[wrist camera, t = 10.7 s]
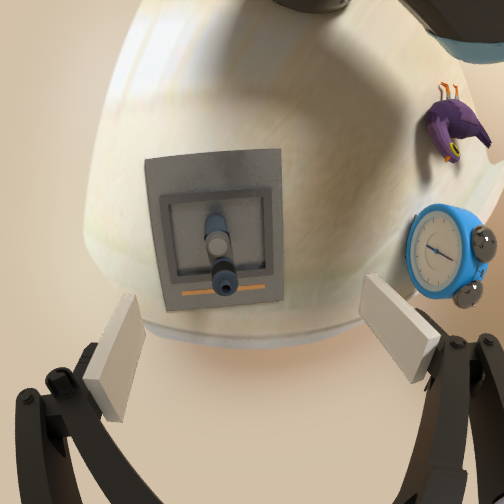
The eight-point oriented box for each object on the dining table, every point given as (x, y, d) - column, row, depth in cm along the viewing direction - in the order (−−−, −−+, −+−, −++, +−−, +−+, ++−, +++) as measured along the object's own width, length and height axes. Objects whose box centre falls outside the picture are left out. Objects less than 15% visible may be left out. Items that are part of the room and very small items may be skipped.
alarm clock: (414, 194, 38) (488, 220, 24) (440, 200, 39) (510, 227, 25) (396, 275, 42) (455, 324, 28) (422, 275, 43) (480, 319, 29)
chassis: (146, 159, 32) (142, 159, 30) (279, 148, 33) (283, 148, 31) (167, 307, 39) (165, 315, 37) (281, 297, 40) (285, 304, 38)
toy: (466, 140, 36) (494, 147, 30) (423, 159, 37) (451, 168, 31) (451, 79, 31) (479, 78, 25) (403, 91, 32) (432, 90, 26)
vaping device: (211, 256, 36) (214, 304, 25) (203, 215, 34) (200, 249, 23) (232, 252, 36) (243, 298, 25) (224, 211, 34) (232, 242, 23)
